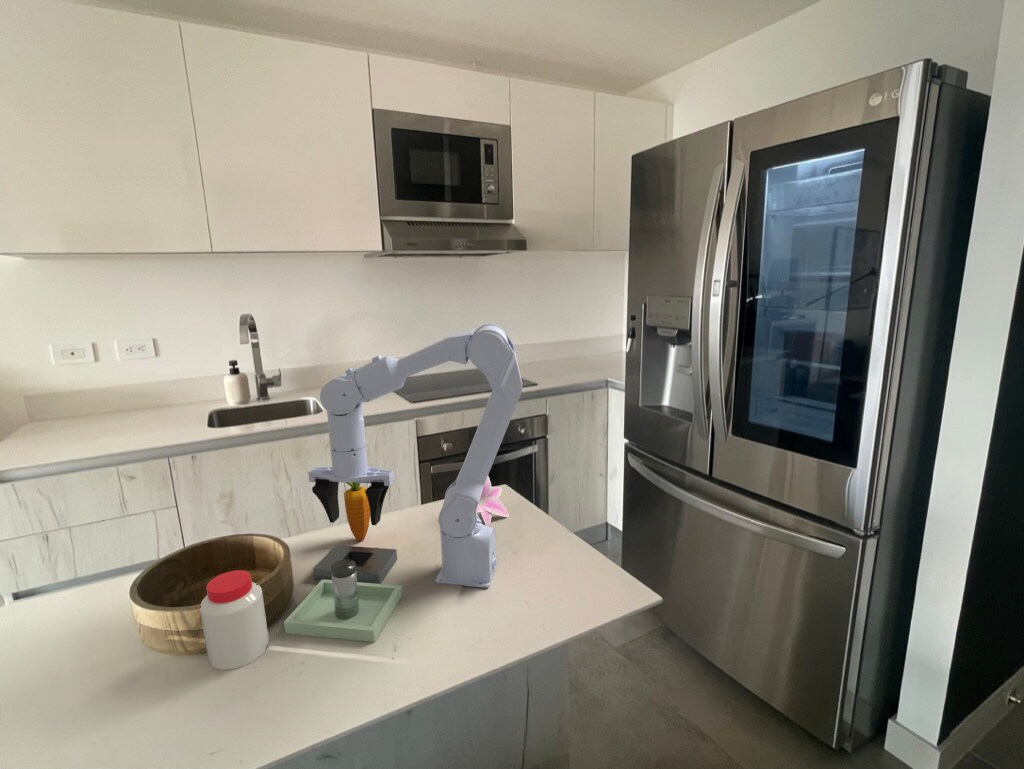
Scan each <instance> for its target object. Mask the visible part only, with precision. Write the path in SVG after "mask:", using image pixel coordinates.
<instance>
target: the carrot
mask: <svg viewBox="0 0 1024 769" xmlns="http://www.w3.org/2000/svg"><path fill="white" fill-rule="evenodd" d="M346 484H347V485H348V486H350V488H348V489H347V490H345V491H344V493H343V498H344V507H345V514H346V518H347V521H348V525H349V529H350V531H351V533H352V535H353V537H354V538H355V540H356V542H359V543H360V542H364V540H365V539H366V536H367V534H368V530H369V528H370V527H369V526H370V521H371V517H370V507H369V502H368V499H367V496H366V493H365V490H366V489H367V488H368V487H364V486H361V483H352V482H347V483H346Z"/></svg>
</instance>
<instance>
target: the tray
mask: <svg viewBox="0 0 1024 769" xmlns="http://www.w3.org/2000/svg"><path fill="white" fill-rule="evenodd" d="M357 588H358V601H359V613H358V614H357V615H356V616H354V617H352V618H350V619H344V620H343V619H338V618H337V617H336V616H335V608H334V596H333V585H332V580H324V579H322V580H319V581H318V583H317V585H315V586H314V587H313V589H312V590H311V591H310V593H308V595H307V596H306V597H305V598H304V599H303V600H302V601H301V602H300V604H298V606H296V608H295V609H294V610H293V611H292V612H291V613H290V614H289V615H288V617H287V618H286V619H285V620H284V622H283V626H284V634H285V635H291V636H292V635H295V636H303V637H314V638H324V639H325V638H326V639H333V640H334V639H335V640H343V641H345V640H346V641H353V642H354V641H355V642H361V643H362V642H363V643H365V642H366V643H374V644H375V643H376V642H377V640H378V638H379V637H380V635H381V633H382V632H383V629H384V628H385V626H386V625H387V623H388V621H389V620H390V618H391V616H392V615H393V613H394V611H395V610H396V608H397V606H398V605H399V603H400V601H401V600H402V598H403V586H402V585H395V584H384V583H381V584H373V583H361V582H357Z"/></svg>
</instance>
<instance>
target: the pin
mask: <svg viewBox="0 0 1024 769" xmlns="http://www.w3.org/2000/svg"><path fill="white" fill-rule="evenodd" d="M331 574H332V585H333V596H334V608H335V616H336V617H337V618H338V619H343V620H344V619H350V618H352V617H354V616H356V615H357V614H358V613H359V601H358V588H357V575H356V563H355V561H353V560H350V559H344V560H340V561H337V562H335V563H334V564H333V565H332V566H331Z"/></svg>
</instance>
